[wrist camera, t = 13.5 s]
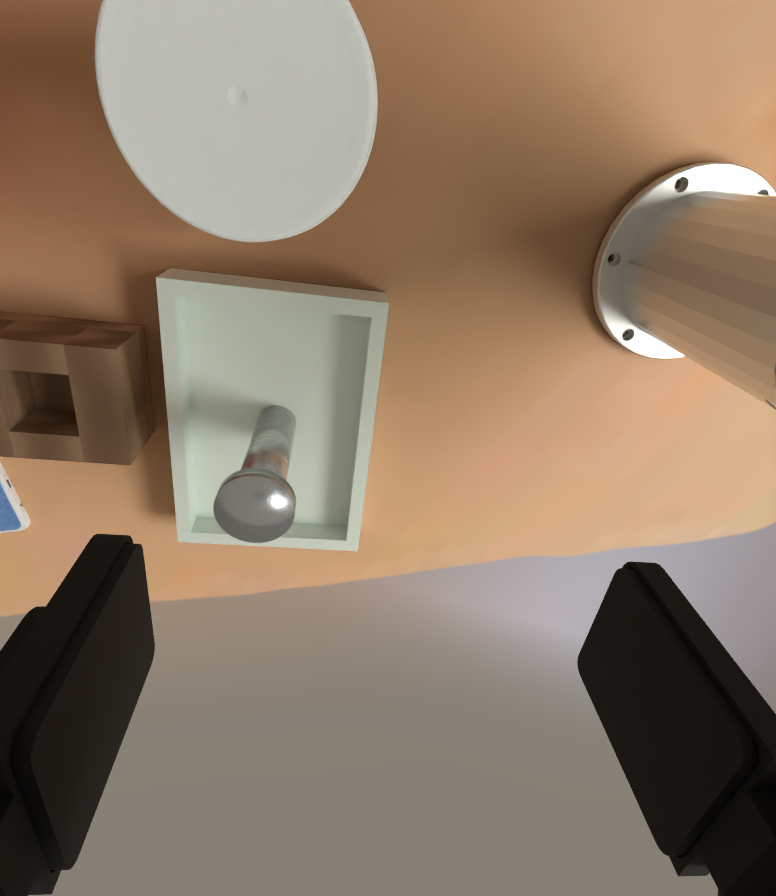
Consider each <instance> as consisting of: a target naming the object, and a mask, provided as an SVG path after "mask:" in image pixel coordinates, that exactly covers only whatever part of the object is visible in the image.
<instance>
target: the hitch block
mask: <svg viewBox="0 0 776 896" xmlns="http://www.w3.org/2000/svg"><path fill="white" fill-rule="evenodd" d="M153 432H154V423H153V413H152V403H151V393H150V383H149V372H148V362H147V352H146V342H145V332H144V326H141V325H131V324H121V323H111V322H101V321H91V320H81V319H71V318H61V317H51V316H41V315H31V314H21V313H11V312H1V311H0V456H2V457H17V458H31V459H46V460H61V461H75V462H90V463H105V464H119V465H131V464H132V462H133V461H134V459H135V458H136V456H137V455H138V453H139V452H140V451H141V449H142V448H143V446H144V445H145V443H146V442H147V440H148V439H149V438H150V436H151V435H152V433H153Z"/></svg>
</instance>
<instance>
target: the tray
mask: <svg viewBox="0 0 776 896" xmlns="http://www.w3.org/2000/svg"><path fill="white" fill-rule="evenodd" d="M156 286H157V298H158V310H159V322H160V334H161V346H162V358H163V370H164V382H165V394H166V406H167V418H168V430H169V442H170V454H171V466H172V478H173V490H174V502H175V514H176V526H177V538H178V542H189V543H209V544H228V545H248V546H267V547H287V548H306V549H326V550H345V551H358V545H359V537H360V530H361V522H362V514H363V506H364V498H365V490H366V482H367V474H368V467H369V459H370V451H371V443H372V435H373V427H374V419H375V412H376V404H377V396H378V388H379V380H380V372H381V364H382V357H383V349H384V341H385V333H386V325H387V317H388V309H389V301H388V298H387V294H386V292H378V291H369V290H360V289H351V288H342V287H334V286H325V285H316V284H307V283H298V282H290V281H281V280H272V279H263V278H255V277H246V276H237V275H228V274H219V273H211V272H202V271H193V270H184V269H175V268H170V269H168V270H166V271H165V272H163V273H162V274H160V275H159V276H157V277H156ZM269 406H282V407H285V408H287V409H288V410H290V411H291V412H292V413H293V415H294V416H295V419H296V430H295V435H294V441H293V446H292V452H291V457H290V463H289V468H288V474H287V479H286V481H287V482H288V483H289V484H290V486H291V487H292V489H293V491H294V493H295V496H296V509H295V516H294V521H293V523H292V525H291V527H290V528H289V530H288V531H287V532H286V533H285V534H284V535H282V536H281V537H279V538H277V539H275V540H272V541H269V542H264V543H250V542H245V541H241V540H238V539H236V538H234V537H232V536H230V535H229V534H227V533H226V532H225V531H224V530H223V529H222V528H221V527H220V526H219V524H218V523H217V521H216V519H215V516H214V511H213V505H214V500H215V498H216V495H217V492H218V490H219V487H220V485H221V484H222V482H223V481H224V480H225V479H226V478H227V477H228V476H230V475H231V474H233V473H235V472H237V471H240V470H241V467H242V464H243V461H244V458H245V455H246V452H247V449H248V446H249V443H250V440H251V437H252V434H253V431H254V428H255V425H256V422H257V419H258V416H259V414H260V413H261V411H262V410H264V409H265V408H267V407H269Z"/></svg>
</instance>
